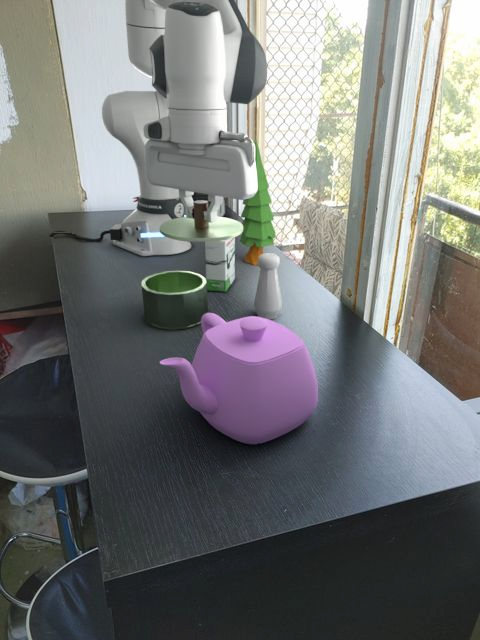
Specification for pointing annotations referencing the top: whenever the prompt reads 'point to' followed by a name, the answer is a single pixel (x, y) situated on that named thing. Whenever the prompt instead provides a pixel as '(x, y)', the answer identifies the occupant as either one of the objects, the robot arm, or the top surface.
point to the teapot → (249, 378)
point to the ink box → (220, 264)
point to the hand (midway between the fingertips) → (201, 219)
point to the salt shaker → (268, 287)
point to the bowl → (174, 299)
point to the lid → (201, 227)
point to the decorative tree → (257, 216)
